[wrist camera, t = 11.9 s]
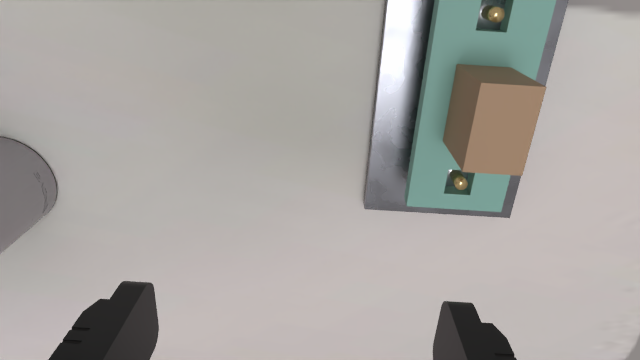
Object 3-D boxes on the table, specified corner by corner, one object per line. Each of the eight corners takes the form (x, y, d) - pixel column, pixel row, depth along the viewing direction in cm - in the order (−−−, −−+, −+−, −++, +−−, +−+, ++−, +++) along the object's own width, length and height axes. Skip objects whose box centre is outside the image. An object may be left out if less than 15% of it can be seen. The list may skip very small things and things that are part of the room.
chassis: (363, 201, 45) (368, 236, 39) (394, -75, 35) (406, -84, 29) (504, 210, 45) (530, 246, 39) (575, -64, 35) (625, -70, 29)
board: (439, -29, 32) (468, -27, 25) (551, -21, 32) (611, -18, 25) (404, 198, 40) (419, 245, 33) (495, 203, 40) (528, 252, 33)
